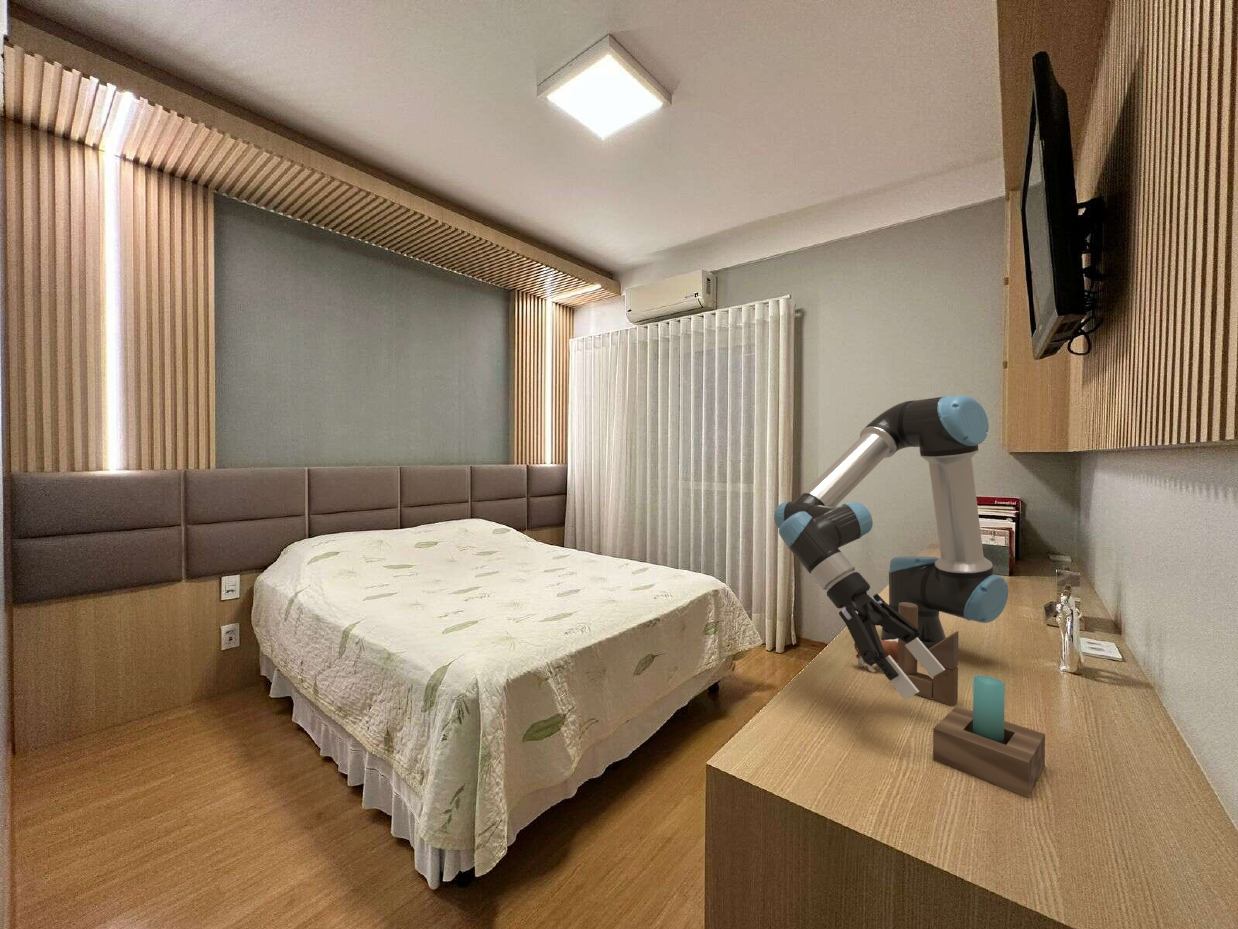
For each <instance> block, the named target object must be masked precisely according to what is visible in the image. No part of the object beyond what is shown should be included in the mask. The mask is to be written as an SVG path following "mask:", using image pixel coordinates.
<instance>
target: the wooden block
mask: <svg viewBox="0 0 1238 929" xmlns="http://www.w3.org/2000/svg"><path fill="white" fill-rule="evenodd" d="M898 613H899V614H900V615H902V616H903V617H904V618H905V619H906V620H908V621H909V622H910V623H911V624H912V625H914V626H915V627H916V628H917V629H918V606H917V605H916V604H913V603H908V602H901V603H899V608H898ZM908 628H909V627H908ZM906 644H908V643H906V642H904V641H902V640H901V639H899V638H898V663H897V665H898V666H899V667H900V668H901V669H902V671H903V672H904V673H905V674H906V676H907V677H908V678H909V679H910V680H911V682H912V683H913V684H914V685H915V687H916V688H917V689H918V690H919V692H918V693H917V694H915V695H917V696H920V697H923V698H927V699H929V700H933V701H935V702H939V703H942V704H944V705H948V706H951V707H953V706H954V705H955V704H956V703H957V702H958V701H959V700H958V698H959V697H958V695H959V691H958V687H959V667H958V666H959V630H957V631H955V632H954V633H952V634H950V635H948V636H946V638H945V639H944V640H942V641H941V642H939V643H937V644H936V645H934V646H933V647H931V648H929V649H928V650H929V651H930V652H931V653H932V655H933V656H934V657H935V658H936V659H937V660H938V662H939V663H940V664H941V665H942V666H943V667H944V668H945V670H944V671H942V672H941V673H939V674H937V675H935V676H934V677H931V676H930V675H929V674H926V673H922V672H919V671H918V661H917V659H916V658H915V657H914V656H913V655H912V653H911V652H910V651H909V650H908V649H907V648H906V646H905V645H906Z"/></svg>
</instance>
